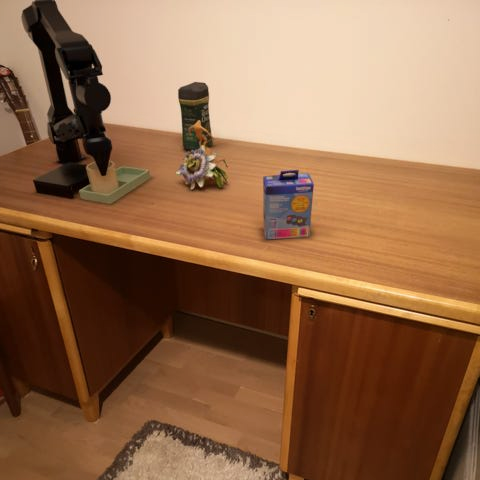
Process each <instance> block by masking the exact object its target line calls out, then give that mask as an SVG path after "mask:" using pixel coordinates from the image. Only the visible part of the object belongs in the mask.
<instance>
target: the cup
mask: <svg viewBox="0 0 480 480" xmlns="http://www.w3.org/2000/svg"><path fill="white" fill-rule="evenodd" d="M86 165H87V167H86V170H87V174H88V178H87V179H88V181H89V184H90V186H91V190H92V192H97V193H103V194H110V193H111V192H113V191H114V190H116V189H118V188H119V183H118V178H117V173H116V169H117V168H116V164H115V162H114V161H112V160H109V163H108V168H107V173H106V176H101V174H100V171H99V169H98V167H97V165H96V162H95V161H92V162H90V163H88V164H86Z"/></svg>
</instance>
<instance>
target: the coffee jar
mask: <svg viewBox="0 0 480 480" xmlns="http://www.w3.org/2000/svg"><path fill="white" fill-rule="evenodd" d="M177 98H178V99H177V100H178V103H179V107H180V116H181V133H182V138H181V139H182V148H183V149H184V150H186V151H187V152H188V151H189V152H191V151H192V150H193V151H194V150H196V149H197V150H198V149H199V148H200V145H199V141H200V140H199V139H198V138H197V137H196V134H197V133H196V132H195V130H194V128H193V129H190V133H191V135H190V136H189V127H191V126H193V125H194V124H196V123H197V121H198V120H200V121H201V126H202V127H203V128H204V129H206V130H207V131H208V132H209V133H210V134H211V135H212V128H211V127H212V126H211V119H210V108H209V107H210V106H209V105H210V103H209V102H210V92H209V86H208V84H207V83H205V82H200V81H194V82H191V83H189V84H186V85H183V86H180V87H179V88H178V90H177ZM202 134H204V136H205V137H206V138H207V141H206V144H205V146H206V147H208V148H210V147H211V146H212V145H213V138H212V137H213V135H212V137H211V136H210V135H208V134H207V132H205V131H203V130H202ZM204 142H205V141H204V140H203V139H202V141H201V145H204V144H203V143H204Z"/></svg>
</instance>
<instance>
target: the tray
mask: <svg viewBox="0 0 480 480" xmlns="http://www.w3.org/2000/svg"><path fill="white" fill-rule="evenodd" d="M116 173H117V178H118V183H119V188H118V189H116V190H114V191H113V192H111V193H110V194H103V193H97V192H92V190H91V186H90V183H89V184H88V185H86V186H84V187H82V188H81V189H79V190H78V192H79V193H78V194H79V196H80V199H81V200H85V201H89V202H90V201H91V202H96V203H102V204H108V205H112V204H113V203H115V202H116V201H118V200H119V199H121V198H123V197H124V196H125V195H127V194H129V193H130V192H132V191H133V190H135V189H136V188H138V187H140V186H142V184H144V183H145V182H147V181H149V180H150V179H151V178H152V176H151V170H150V169H146V168H138V167H133V166H132V167H131V166H124V165H120V166H119V167H117V168H116Z"/></svg>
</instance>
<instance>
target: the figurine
mask: <svg viewBox="0 0 480 480" xmlns="http://www.w3.org/2000/svg"><path fill="white" fill-rule="evenodd" d="M193 128H194V130H195V132H196V133H197V134H196V137H197V138H198V139H199V140H200V141H199V145H200V146H201V141H202V139H203V140H204V141H205V142H204V143H203V144H204V146H205V144H206V141H207V138H206V137H205V136H204V134H202V130H203V131H205V132H207V134H208V135H210V136H211V137H212V141H213V140H214V139H215V138H214V136H213V135H211V134H212V133H211V134H210V133H209V132H208V131H207V130H206V129H204V128H203V127H202V126H201V121H200V120H198V121H197V123H196V124H194V125H193V126H191V127H189V136H190V135H191V133H190V129H193ZM204 154H205V155H209V154H213V151H212V149H211V148H210V147H206V146H205V153H204Z"/></svg>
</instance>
